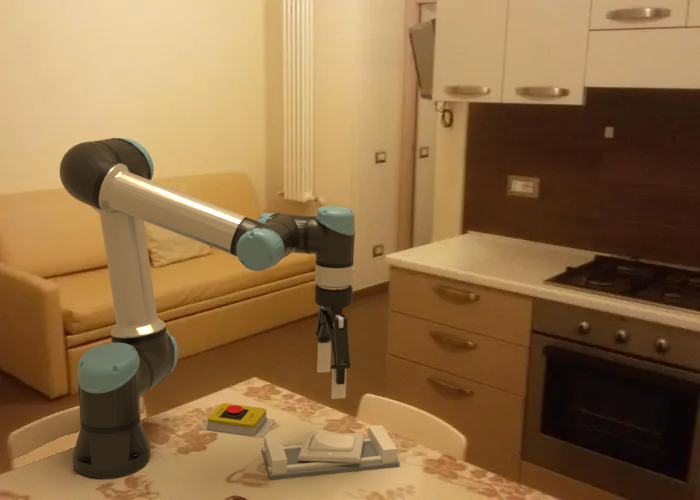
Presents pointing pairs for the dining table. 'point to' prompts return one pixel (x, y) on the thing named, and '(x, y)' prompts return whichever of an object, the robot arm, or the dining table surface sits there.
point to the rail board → (286, 464)
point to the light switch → (331, 447)
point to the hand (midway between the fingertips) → (330, 384)
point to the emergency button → (239, 420)
